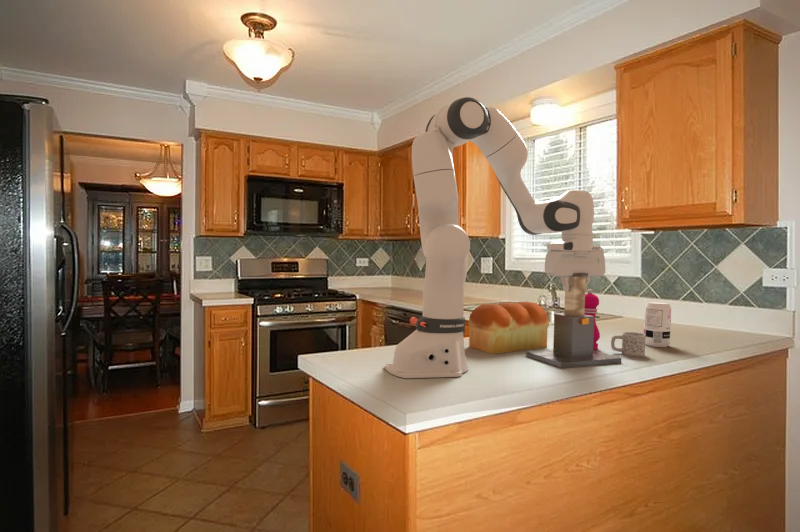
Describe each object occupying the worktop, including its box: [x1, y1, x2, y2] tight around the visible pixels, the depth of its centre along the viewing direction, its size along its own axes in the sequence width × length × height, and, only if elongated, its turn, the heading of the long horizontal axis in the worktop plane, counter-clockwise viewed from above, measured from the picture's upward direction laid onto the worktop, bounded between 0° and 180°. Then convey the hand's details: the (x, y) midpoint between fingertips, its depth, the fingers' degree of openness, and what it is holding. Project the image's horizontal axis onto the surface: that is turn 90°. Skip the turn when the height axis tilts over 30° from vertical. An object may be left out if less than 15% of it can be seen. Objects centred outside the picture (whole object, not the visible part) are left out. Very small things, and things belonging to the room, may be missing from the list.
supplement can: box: [643, 301, 672, 348], centre depth 173 cm, size 8×8×15 cm
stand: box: [525, 312, 622, 369], centre depth 148 cm, size 22×16×14 cm
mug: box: [610, 331, 646, 358], centre depth 158 cm, size 10×7×7 cm, turn 75°
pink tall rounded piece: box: [584, 288, 601, 351], centre depth 165 cm, size 7×7×20 cm
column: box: [563, 273, 588, 316], centre depth 148 cm, size 5×5×21 cm
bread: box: [467, 301, 550, 355], centre depth 165 cm, size 25×12×15 cm, turn 122°
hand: (574, 291), depth 148 cm, fingers open, 4 cm apart
